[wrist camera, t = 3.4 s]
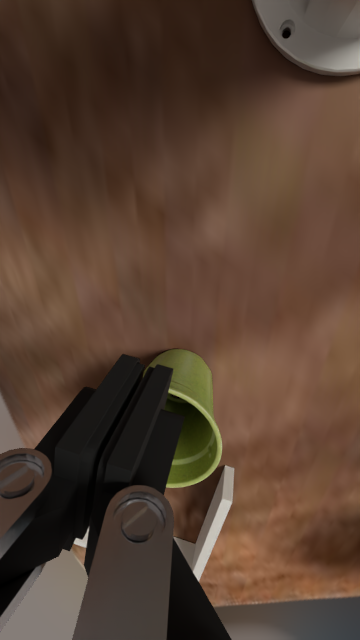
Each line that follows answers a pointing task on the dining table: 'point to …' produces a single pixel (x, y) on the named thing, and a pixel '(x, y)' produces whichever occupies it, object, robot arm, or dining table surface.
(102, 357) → the dining table surface
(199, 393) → the plant pot
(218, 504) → the box
